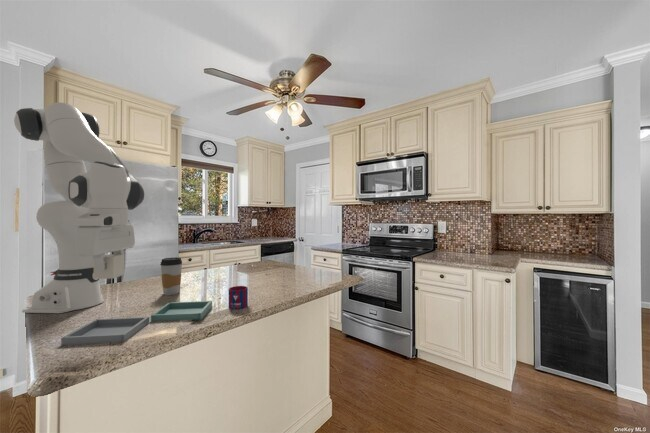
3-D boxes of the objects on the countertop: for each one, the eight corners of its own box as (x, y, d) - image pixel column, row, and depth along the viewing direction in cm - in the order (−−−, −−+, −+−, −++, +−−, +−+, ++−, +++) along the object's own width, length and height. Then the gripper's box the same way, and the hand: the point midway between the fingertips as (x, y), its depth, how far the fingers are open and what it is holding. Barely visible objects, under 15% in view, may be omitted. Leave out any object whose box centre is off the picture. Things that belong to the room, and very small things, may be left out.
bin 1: (61, 347, 71) (61, 338, 71) (96, 327, 84) (96, 319, 84) (124, 343, 73) (124, 334, 73) (149, 324, 86) (149, 316, 86)
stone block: (93, 278, 76) (93, 257, 76) (105, 275, 81) (105, 254, 81) (113, 278, 76) (113, 256, 76) (124, 274, 81) (124, 254, 81)
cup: (226, 309, 99) (226, 290, 99) (234, 301, 109) (234, 283, 109) (245, 309, 100) (244, 290, 99) (251, 300, 110) (251, 283, 109)
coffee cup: (186, 290, 124) (186, 257, 124) (174, 296, 116) (174, 260, 115) (168, 290, 125) (168, 257, 125) (155, 295, 116) (155, 260, 116)
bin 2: (150, 323, 87) (150, 315, 87) (168, 309, 100) (168, 302, 100) (201, 320, 89) (201, 313, 89) (212, 307, 102) (212, 300, 102)
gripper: (119, 218, 88) (119, 261, 88) (68, 219, 68) (68, 276, 68) (140, 218, 89) (140, 261, 89) (96, 219, 69) (97, 275, 69)
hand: (109, 267), depth 78 cm, fingers closed on stone block, 5 cm apart
